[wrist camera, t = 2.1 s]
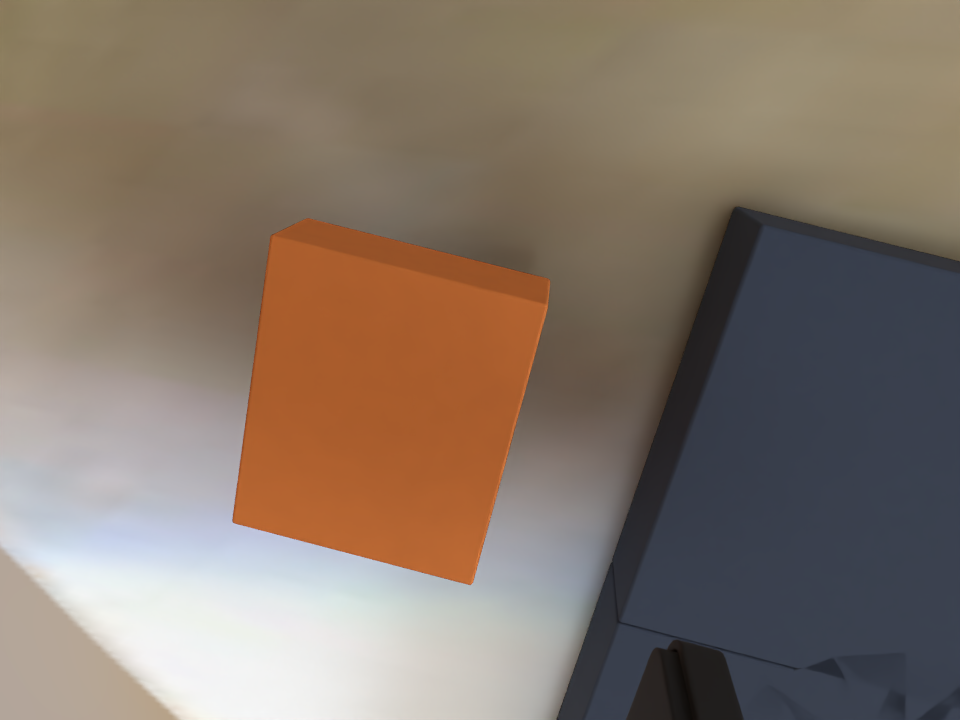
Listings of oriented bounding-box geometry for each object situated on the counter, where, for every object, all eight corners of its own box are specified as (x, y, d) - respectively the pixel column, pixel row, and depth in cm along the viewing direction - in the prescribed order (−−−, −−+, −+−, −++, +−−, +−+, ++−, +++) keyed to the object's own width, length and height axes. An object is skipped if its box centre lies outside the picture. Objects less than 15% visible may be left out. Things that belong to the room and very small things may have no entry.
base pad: (733, 205, 16) (761, 223, 14) (1378, 365, 16) (1516, 411, 14) (529, 798, 23) (524, 880, 20) (991, 923, 22) (1042, 1020, 20)
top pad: (340, 200, 17) (269, 234, 13) (552, 254, 17) (549, 304, 13) (302, 432, 19) (231, 523, 15) (492, 481, 19) (471, 587, 15)
